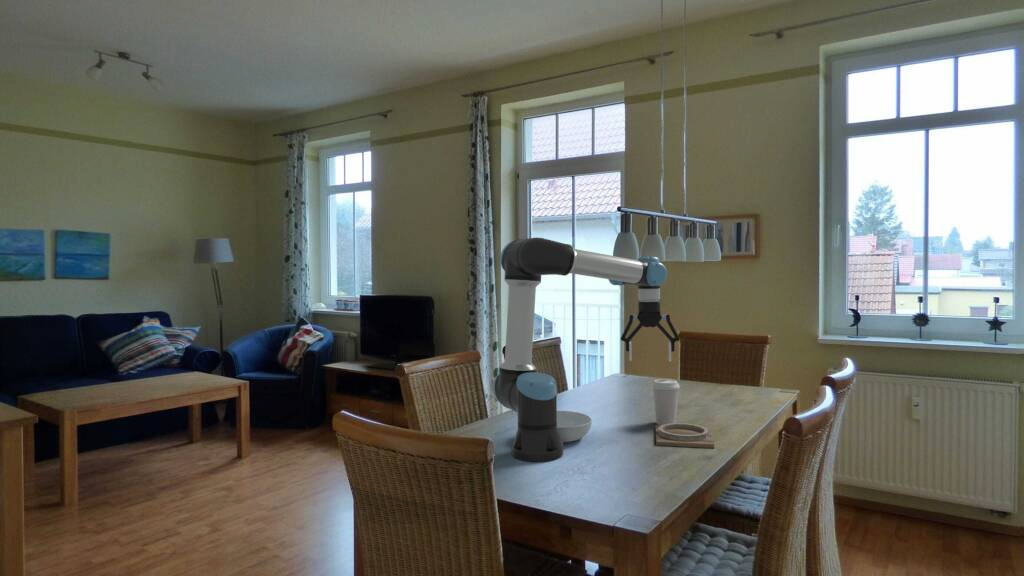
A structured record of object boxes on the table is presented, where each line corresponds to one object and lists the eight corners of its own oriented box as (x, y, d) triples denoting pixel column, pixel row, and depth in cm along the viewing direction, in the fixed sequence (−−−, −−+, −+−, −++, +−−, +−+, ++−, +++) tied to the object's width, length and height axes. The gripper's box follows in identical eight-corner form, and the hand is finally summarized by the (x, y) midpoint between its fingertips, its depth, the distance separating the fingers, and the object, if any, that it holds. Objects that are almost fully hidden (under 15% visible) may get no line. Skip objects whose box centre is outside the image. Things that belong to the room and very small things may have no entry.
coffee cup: (669, 419, 218) (668, 377, 218) (685, 425, 210) (685, 382, 209) (646, 421, 215) (646, 379, 214) (662, 428, 206) (662, 384, 206)
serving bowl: (538, 451, 183) (538, 429, 182) (519, 433, 203) (519, 413, 203) (602, 445, 188) (602, 423, 188) (577, 428, 208) (577, 408, 208)
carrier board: (714, 448, 183) (714, 439, 183) (656, 445, 187) (656, 436, 187) (708, 430, 202) (708, 422, 202) (655, 428, 206) (655, 420, 206)
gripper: (685, 299, 214) (686, 359, 215) (613, 300, 219) (614, 358, 220) (686, 300, 207) (687, 362, 208) (612, 301, 212) (614, 362, 213)
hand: (650, 360), depth 214 cm, fingers open, 13 cm apart
